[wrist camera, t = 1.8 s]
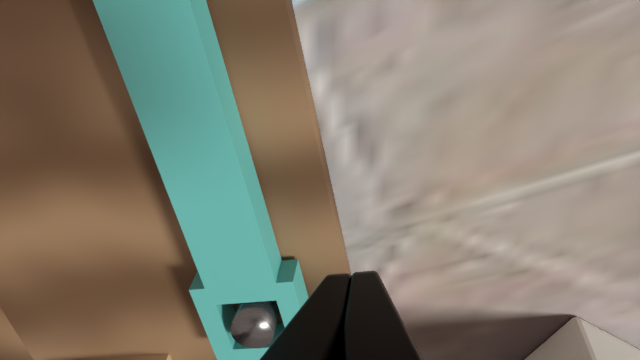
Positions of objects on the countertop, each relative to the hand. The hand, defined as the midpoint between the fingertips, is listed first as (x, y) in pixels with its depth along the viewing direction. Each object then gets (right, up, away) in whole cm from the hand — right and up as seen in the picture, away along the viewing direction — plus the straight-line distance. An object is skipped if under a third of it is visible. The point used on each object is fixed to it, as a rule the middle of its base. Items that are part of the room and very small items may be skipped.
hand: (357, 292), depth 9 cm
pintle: (-3, -3, +16) cm, 17 cm away
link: (-5, +3, +11) cm, 13 cm away
